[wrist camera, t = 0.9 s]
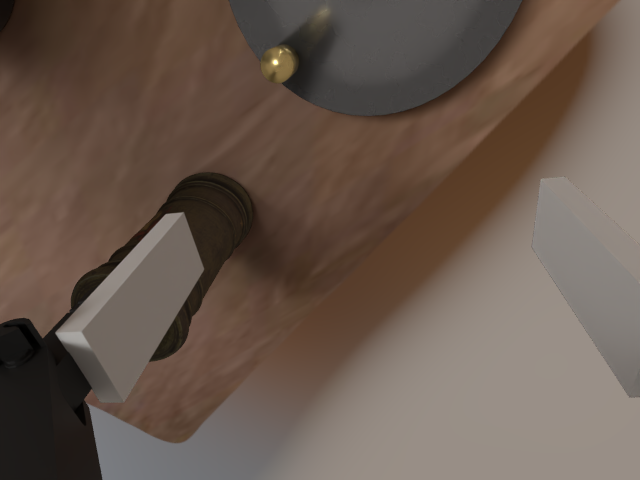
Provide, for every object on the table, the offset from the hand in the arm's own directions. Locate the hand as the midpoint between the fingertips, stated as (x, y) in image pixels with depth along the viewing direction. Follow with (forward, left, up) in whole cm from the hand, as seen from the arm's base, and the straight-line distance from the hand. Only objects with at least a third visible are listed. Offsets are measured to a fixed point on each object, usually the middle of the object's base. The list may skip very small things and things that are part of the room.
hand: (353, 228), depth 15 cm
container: (-3, -20, -25) cm, 32 cm away
